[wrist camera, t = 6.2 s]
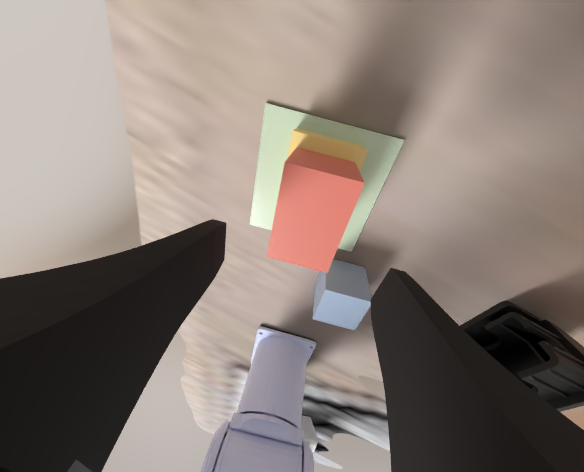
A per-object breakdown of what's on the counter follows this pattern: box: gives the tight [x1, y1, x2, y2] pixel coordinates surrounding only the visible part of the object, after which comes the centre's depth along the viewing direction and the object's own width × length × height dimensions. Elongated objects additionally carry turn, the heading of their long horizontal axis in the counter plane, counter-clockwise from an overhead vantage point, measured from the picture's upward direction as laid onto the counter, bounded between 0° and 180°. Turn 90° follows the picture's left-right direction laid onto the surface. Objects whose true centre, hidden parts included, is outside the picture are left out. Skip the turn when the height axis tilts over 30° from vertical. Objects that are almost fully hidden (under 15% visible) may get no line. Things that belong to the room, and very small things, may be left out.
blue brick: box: [313, 259, 372, 331], centre depth 20 cm, size 4×4×4 cm
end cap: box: [460, 301, 584, 412], centre depth 20 cm, size 10×7×7 cm
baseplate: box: [250, 103, 404, 252], centre depth 17 cm, size 10×10×1 cm
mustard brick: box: [287, 128, 368, 171], centre depth 16 cm, size 8×5×2 cm, turn 167°
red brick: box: [267, 147, 365, 273], centre depth 14 cm, size 6×4×4 cm, turn 167°
